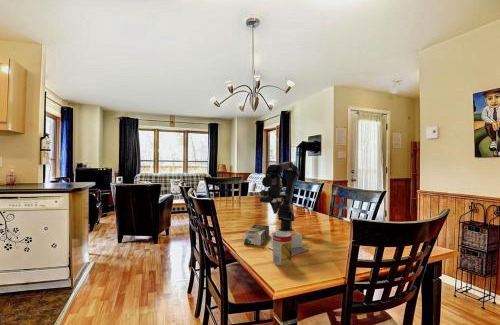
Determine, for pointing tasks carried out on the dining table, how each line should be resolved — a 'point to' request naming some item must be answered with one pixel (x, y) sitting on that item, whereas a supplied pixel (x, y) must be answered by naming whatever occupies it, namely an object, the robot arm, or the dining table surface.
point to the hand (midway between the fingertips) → (275, 213)
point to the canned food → (282, 248)
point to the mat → (295, 250)
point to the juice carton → (256, 234)
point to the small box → (293, 239)
